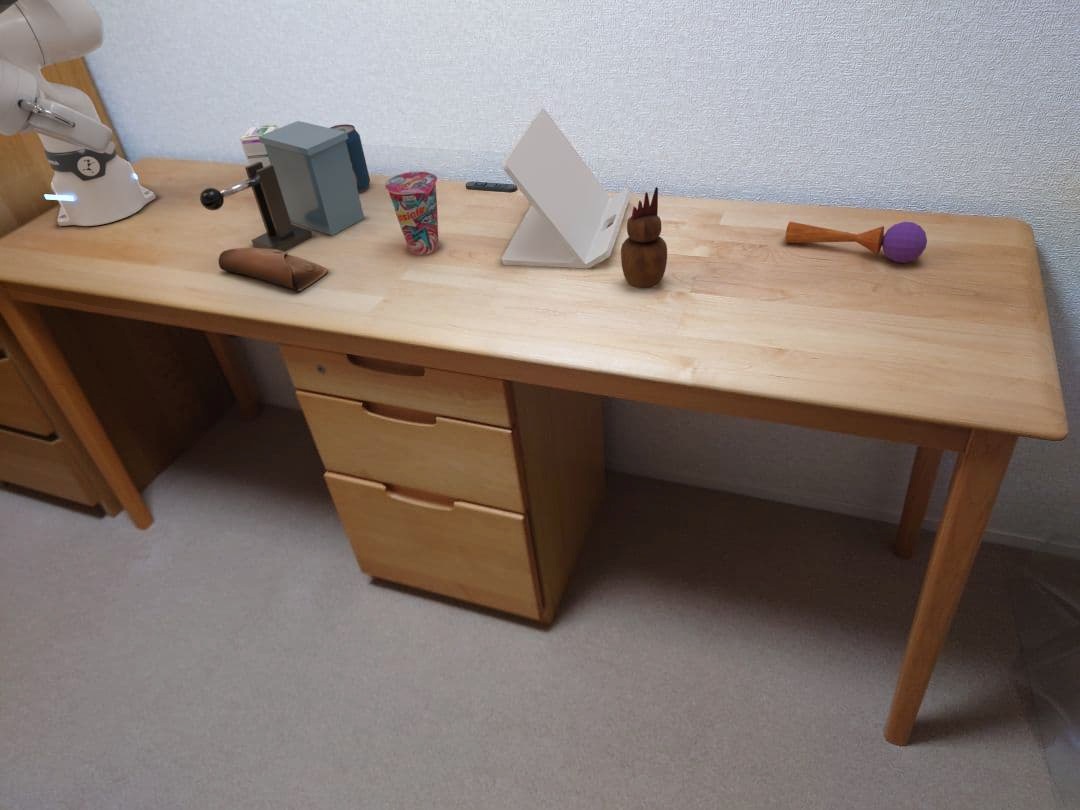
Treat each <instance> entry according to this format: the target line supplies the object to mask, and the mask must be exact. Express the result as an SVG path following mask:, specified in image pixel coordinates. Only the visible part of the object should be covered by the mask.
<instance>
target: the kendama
mask: <svg viewBox="0 0 1080 810" xmlns="http://www.w3.org/2000/svg"><path fill="white" fill-rule="evenodd" d="M926 233H927V232H926V231H925V230H924V229H923V227H922V226H921V225H919V224H918V223H915V222H914V221H902V222H898V223H895V224H893V225H892V226H890V227H889V228H888V229H887V230H886V231H885V226H884V225H883V226H880V227H876V228H874V229H870V230H867V231H864V232H860V233H853V232H852V233H851V232H848V231H847V232H845V231H841V230H836V229H831V228H826V227H820V226H815V225H810V224H807V223H806V224H805V223H800V222H795V221H789V222H788V224H787V226H786V230H785V242H786V243H787V244H791V243H793V244H794V243H802V244H803V243H857V244H859V245H861V246H862V247H864V248H866V249H867V250H870V251H871V252H873V253H875V254H877V255H879V254H880V252H881V249H882V252H883V253H884V255H885V256H886V257H887V259H889V260H890V261H893V262H895V263H901V264H904V263H905V264H906V263H909V262H913V261H914V260H916V259H918V258H920V256H922V255H923V253H924V251H925V250H926V248H927V245H928V244H927V243H928V239H927V234H926Z"/></svg>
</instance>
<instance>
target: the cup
mask: <svg viewBox="0 0 1080 810" xmlns="http://www.w3.org/2000/svg"><path fill="white" fill-rule="evenodd" d="M437 177H438V176H436V175H435V174H434V173H431V172H428V171H409V172H404V173H401V174H398V175H395V176H393V177H391V178H390V179H388V180H387V181H386V182H385V189H386V190H387V191H388V194H389V197H390V200H391V203H392V207H393V209H394V212H395V215H396V219H397V221H398V223H399V227H400V229H401V232H402V235H403V237H404V239H405V243H406V245H407V248H408V251H409V252H410V254H412V255H416V256H425V255H430V254H432V253H434V252H436V251H437V250H438V249H439V246H440V245H439V244H440V242H439V221H438V220H439V218H438V217H439V216H438V200H437V184H436V183H437V181H438V178H437Z"/></svg>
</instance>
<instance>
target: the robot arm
mask: <svg viewBox="0 0 1080 810" xmlns="http://www.w3.org/2000/svg"><path fill="white" fill-rule="evenodd" d="M104 39H105V26H104V22H103V20H102V17H101V15H100V13H99V11H98V10H97V8H96V7H95V5H93V3H92V2H91V1H90V0H0V135H2V136H4V137H11V136H14V135H16V134H17V133H18V132H19V133H21V134H28V133H30V132H32V133H35V134H37V136H38V137H39V139H40V142H41V144H42V145H43V147H44V151H43V153H44V155H45V159H46V160H47V162H48V163H49V165H50V168H51V169H52V170H53V171H54V175H53V177H52V178H51V182H50V188H51V190H52V191H53V194H44V198H45V199H46V200H50V201H51V200H55V201H57V202H58V204H59V206H60V207H59V211H58V215H57V220H56V221H57V224H58V225H59V226H61V227H67V226H79V227H92V226H93V227H94V226H100V225H105V224H110V223H113V222H117V221H120V220H123V219H126V218H128V217H129V216H132V215H134V214H136V213H137V212H139V211H141V210H142V209H143V208H144V207H145V206H146V205H147V204H149V203H150V202H152V201H154V200H155V199H156V198H157V195H156V194H155V192H153V191H151V190H150V189H148V188H146V187H145V186H143V185H141V183H140V181H139V178H138V175H137V174H136V172H135V170H134V168H133V165H132V164H131V162H130V161H127V160H126V159H125V158H122V157H121V156H119V155H118V151H117V148H116V143H115V142H114V141H113V139H112V135H113V130H112V129H111V128H110V127H109V126H107V125H105V124H104V123H102V121H101V119H100V116H99V114H98V112H97V109H96V107H95V105H94V103H93V101H92V99H91V97H89V95H88V94H87V93H86V92H84V91H83V90H81V89H79V88H77V87H74V86H70V85H66V84H61V83H56V82H50V81H47V79H46V78H45V76H44V75H43V73H42V71H41V70H42V69H43V68H46V67H49V66H53V65H57V64H61V63H65V62H69V61H72V60H76V59H77V60H78V59H80V58H82V57H84V56H86V55H88V54H90V53H92V52H94V51H96V50H97V49H100V48H101V47H102V46H103V43H104Z"/></svg>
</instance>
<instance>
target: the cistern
mask: <svg viewBox="0 0 1080 810" xmlns="http://www.w3.org/2000/svg"><path fill="white" fill-rule="evenodd" d="M346 139H348V135H347V132H344V131H340V130H336V129H331V128H330V127H327V126H322V125H318V124H314V123H311V122H310V123H309V122H305V121H301V120H296V121H294V122H291V123H288V124H286V125H284V126H281V127H278V129H276V130H273V131H271V132H268V133H266V134H263V135H261V136H259V140H260V143H263V144H264V145H265V148H266V152H267V155H268V158H269V161H270V164H271V165H273V167H274V170H275V173H276V176H277V180H278V183H279V186H280V189H281V192H282V196H283V199H284V202H285V205H286V209H287V212H288V215H289V218H290V221H291V223H294V224H295V225H299V226H303V227H304V228H308V229H311V230H314V231H317V232H320V233H323V234H325V235H328V236H331V237H332V236H335V235H336V234H338V233H340V232H342V231H343V230H346V229H348V228H350V227H351V226H354V225H355V224H357V223H359V222H361V221H363V220H365V219H366V218H365V215H364V210H363V206H362V201H361V197H360V193H358V189H357V185H356V181H355V177H354V173H353V169H352V165H351V161H350V157H349V153H348V148H347V144H346Z"/></svg>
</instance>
